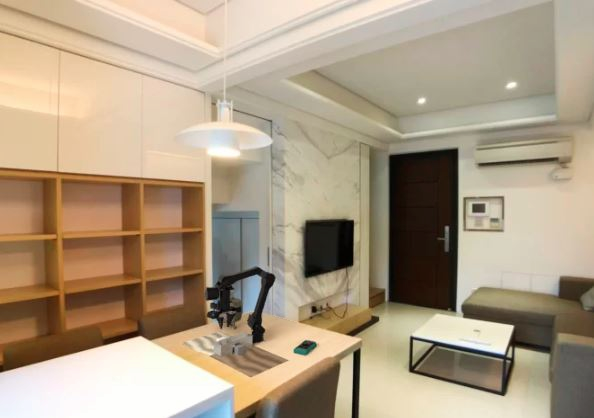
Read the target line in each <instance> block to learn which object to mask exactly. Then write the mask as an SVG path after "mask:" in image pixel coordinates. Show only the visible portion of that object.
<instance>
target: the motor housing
mask: <svg viewBox="0 0 594 418" xmlns="http://www.w3.org/2000/svg"><path fill="white" fill-rule="evenodd" d="M231 336H232V337H229V338H226V339H222V340H219V341H216V342H214V356H216V357H218V358H220V359H222V358H224V357H227V356H230V355H232V348H233V344H235V346H237V345H240V344H241V345H243V346H244V350H246V349H249V348H252V345H253V343H252V333H248V332H241V333H239V334H238V333H237V334H235V335H231Z"/></svg>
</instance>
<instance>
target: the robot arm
mask: <svg viewBox="0 0 594 418" xmlns="http://www.w3.org/2000/svg"><path fill="white" fill-rule="evenodd" d="M254 276H259V277H260V278H261V279H260V285H261V287H260V290H259V293H258V297H257V299H256V303H255V305H254V309H253V312H252V313H249V314H248V317H247V320H246V322H247V323H246V324H247V326H248V328H250V330H251V335H252V344H256V343H257V344H258V343H262V342H265V340H264V339H265V338H264V337H265V336H264V334H265V332H266V328H265V327H264V326H263V325H262V324H263V311H264V308H265V305H266V303H267V302H266V301H267V298H268V295H269V292H270V290H271V288H272V287H273V286H274V284H275V282H276V278H277V277H276V275H275V274H274V273H272V272H269V271H265V270H264V269H262V268H261V267H259V266H254V267H251V268H247V269H244V270H240V271H238V272H237V271H236V272H233V273H232V272H231V273H222V274H220V275H219V277H218V280H217V282H216V283H215V284H214V286H207V287H205V289H204V290H205V291H204V300H205V302H206V301H207V302H208V301H212V302H210V303H209V307H210V309H211V310H209V311H208V312H206V317H207V318H209V319H211V320H216V321H217V324H218V326H219V329H220V330H223V327H224V323H223V320H224V317H222V314H225V313H226V315H227V323H226V326H227V328H229V327H230V326H231V325H230V324H231V322H232V320H233V318H234V316H235V315H236V313H235V311H236V312H237V313H239V312H242V313H243V307H242V308H241V307H240V306H237V305H233V306H230V303H232V300H230V294H231V293H232V292H231V291H234V290H235V287H233V286H232V285H234V284H235V283H236V282H238V281H241V280H245V279H246V278H247V279H248V278H250V277H254ZM213 301H214V302H213ZM215 301H217V302H218V303H216V302H215ZM216 309H217V310H219V311H218V312H217V311H216Z"/></svg>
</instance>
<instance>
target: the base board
mask: <svg viewBox="0 0 594 418" xmlns="http://www.w3.org/2000/svg"><path fill="white" fill-rule="evenodd" d="M232 336H233V335H230V334H228V333H224V332H222V331H217V332H213V333H210V334H206V335H203V336H200V337H197V338H193V339H190V340H187V341H184V342H182V343H183V344H182V345H184V346H185V347H188V348H189V347H190V348H189V349H191V348H192V350H193V349H194V350H193V351H195V350H196V351H195V352H197V353H203V354H204V355H206V356H209V357H210V358H212V359H214V360H216V361H218V362H219V363H222V364H223V365H226V366H228V367H230V368H232V369H234V370H235V371H238V372H239V373H242V374H243V375H244V376H247V377H249V378H253V377H255V376H258V375H260V374H263V373H264V372H266V371H269V370H271V369H273V368H275V367H278V366H280V365H282V364H284V363H286V362H289V361H290V360H289V359H287V358H285V357H283V356H279V355H277V354H275V353H272V352H270V351H268V350H265V349H263V348H260V347H258V346H256V345H253V344H252V348H249V349H246V350H244V354H242V355H239V356H237V355H235V354H234V352H232V355H230V356H227V357H224V358H222V359H220V358H218V357H216V356H214V342H216V341H217V338H220V337H225V338H229V337H232ZM233 348H235V344H233Z"/></svg>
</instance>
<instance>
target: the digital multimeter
mask: <svg viewBox="0 0 594 418" xmlns="http://www.w3.org/2000/svg"><path fill="white" fill-rule="evenodd" d="M317 344H318V343H317V342H316V341H314V340H308V339H305V340H304V341H302V342H301V343H299V345H297V346H296V347H295V348H293V354H296V355H301V356H308V354H309V353H310V352H312V351H313V348H314V347H315V346H316V347H317ZM316 347H315V348H316ZM315 348H314V349H315Z"/></svg>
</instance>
